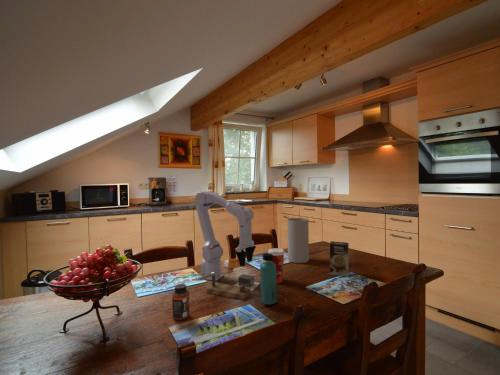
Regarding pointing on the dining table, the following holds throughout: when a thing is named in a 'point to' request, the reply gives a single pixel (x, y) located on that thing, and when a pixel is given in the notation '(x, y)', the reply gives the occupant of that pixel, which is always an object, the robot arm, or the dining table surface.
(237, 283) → the rubber pad
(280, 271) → the coffee cup
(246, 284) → the lever cap
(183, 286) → the supplement bottle
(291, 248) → the cylinder vase
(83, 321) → the dining table surface
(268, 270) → the beverage bottle
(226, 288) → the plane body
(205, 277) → the latch bar
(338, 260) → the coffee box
